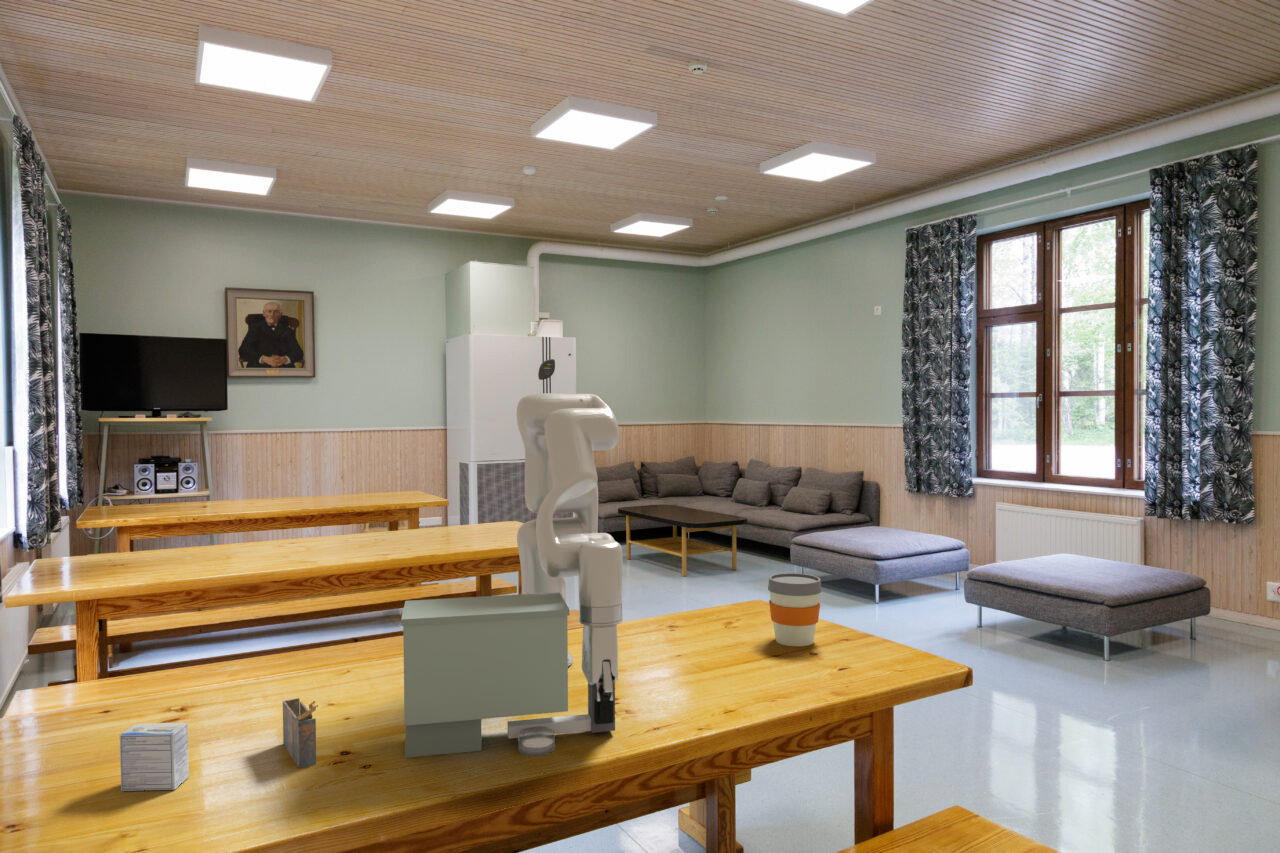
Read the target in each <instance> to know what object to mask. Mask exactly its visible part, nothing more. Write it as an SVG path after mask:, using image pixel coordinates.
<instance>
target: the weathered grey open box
mask: <svg viewBox="0 0 1280 853" xmlns="http://www.w3.org/2000/svg"><path fill="white" fill-rule="evenodd" d="M315 704H316V701H315V700H314V701H312V702H311V703H309V704H308V708H307V706H306V705H305V704H304V702H303V701H300V697H298V698H297V697H296V698H291V699H287V700H283V701H282V731H283V732H282V739H283V741H282V742H283V746H284V747H285V749H286V750H287V752H288V753H289V754H290V756H291V758H292V759H293V761H294V763H295V764H296V766H297V767H298V769H301V768H305V767H310V766H314V765H317V721H316V720H317V719H316V718H315V717H314V718H313V713H314V712H316V710H317V709H316V708H318V707H319V705H318V704H317V705H315Z"/></svg>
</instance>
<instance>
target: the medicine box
mask: <svg viewBox="0 0 1280 853" xmlns="http://www.w3.org/2000/svg"><path fill="white" fill-rule="evenodd" d="M188 730H189V729H188V723H187V722H153V723H152V722H148V723H147V722H146V723H145V722H144V723H136V724H134V725H132V726H131V727H129V728H127V729H126V730H125V731H123V732H122V733H121V734H120V735H119V757H120V758H119V759H120V785H121V786H120V790H121V792H135V791H136V792H138V791H141V792H142V791H144V790H145V791H174V790H176V789H177V788H178V786H179V785H180V784H181V783H182V784H183V783H184V782H185V781H186V780H188V778H189V777H190V767H189V766H190V762H189V736H188V733H189V732H188ZM182 784H181V785H182ZM181 785H180V786H181ZM180 786H179V787H180ZM145 791H144V792H145Z"/></svg>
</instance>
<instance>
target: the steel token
mask: <svg viewBox="0 0 1280 853" xmlns="http://www.w3.org/2000/svg"><path fill="white" fill-rule="evenodd" d="M555 735H556V734H555V732H554V730H552V729H551V728H547V727H530V728H526V729H523V730H521V731H520V732H519V733H518V738H517V750H518V753H520V754H521V755H524V756H525V757H526V756H527V757H541V756H542V755H543V756H545V755H548V754H551V753H552V752H554V750H555V749H556V741H555V740H556V739H555V737H556V736H555Z"/></svg>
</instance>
